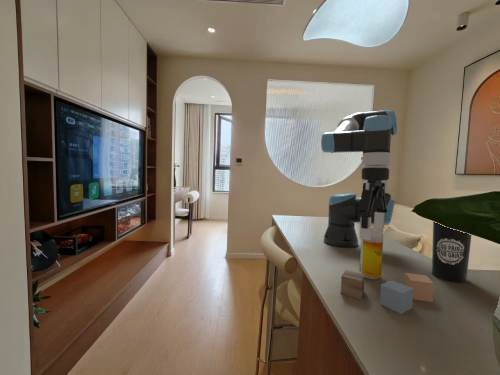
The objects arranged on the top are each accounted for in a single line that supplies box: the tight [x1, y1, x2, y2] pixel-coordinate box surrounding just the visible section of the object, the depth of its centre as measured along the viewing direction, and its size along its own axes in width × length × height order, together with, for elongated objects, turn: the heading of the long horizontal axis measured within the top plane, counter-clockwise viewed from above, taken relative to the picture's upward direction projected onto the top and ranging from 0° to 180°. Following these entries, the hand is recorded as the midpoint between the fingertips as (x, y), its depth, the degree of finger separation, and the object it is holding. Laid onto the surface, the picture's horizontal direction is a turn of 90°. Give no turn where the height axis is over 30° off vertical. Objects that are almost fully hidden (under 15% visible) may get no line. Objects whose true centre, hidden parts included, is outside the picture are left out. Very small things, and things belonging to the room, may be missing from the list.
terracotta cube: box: [403, 272, 435, 303], centre depth 63 cm, size 5×5×5 cm
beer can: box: [359, 227, 384, 281], centre depth 74 cm, size 6×6×15 cm
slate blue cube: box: [379, 279, 414, 315], centre depth 58 cm, size 5×5×5 cm
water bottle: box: [431, 221, 472, 284], centre depth 75 cm, size 10×10×23 cm
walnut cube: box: [340, 269, 366, 300], centre depth 64 cm, size 5×5×5 cm
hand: (372, 235), depth 74 cm, fingers open, 13 cm apart
